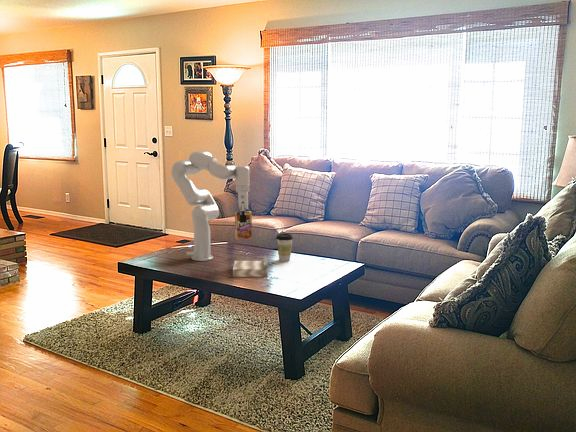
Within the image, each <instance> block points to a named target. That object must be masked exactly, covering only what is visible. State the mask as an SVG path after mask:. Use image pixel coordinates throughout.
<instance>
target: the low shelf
mask: <svg viewBox="0 0 576 432" xmlns="http://www.w3.org/2000/svg"><path fill="white" fill-rule="evenodd" d="M232 267H233V268H232V277H234V278H235V277H237V278H238V277H239V278H241V277H242V278H243V277H244V278H245V277H252V278H253V277H255V278H256V277H264V278H265V277H268V256H267V255H266V256H265V255H264V256H263V260H234V263H233V266H232Z"/></svg>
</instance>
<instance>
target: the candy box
mask: <svg viewBox="0 0 576 432" xmlns="http://www.w3.org/2000/svg"><path fill="white" fill-rule="evenodd" d="M240 215H241V210H240V211H239V210H238V211H234V238H235V240H251V239H252V237H253V236H252V235H253V233H252V232H253V231H252V229H253V228H252V227H253V224H252V220H253V219H252V217H253V215H252V211H251V210H249V211H248V210H246V222H240Z"/></svg>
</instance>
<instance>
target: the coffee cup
mask: <svg viewBox="0 0 576 432" xmlns="http://www.w3.org/2000/svg"><path fill="white" fill-rule="evenodd" d="M275 239H276V245H277V254H278V260H279V262H284V263H285V262H287V263H288V262H290V261H291V254H292V248H293V239H294V237H293V235H292V234H291V233H290V234H289V233H279V234H277V236H276V238H275Z"/></svg>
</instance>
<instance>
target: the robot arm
mask: <svg viewBox="0 0 576 432" xmlns="http://www.w3.org/2000/svg"><path fill="white" fill-rule="evenodd" d="M203 170H205V171H206V172H207V171H208V172H209V174H210V175H211V176H213V177H215V178H218V179H221V180H230V179H231V180H232V179H235V191H236V192H237V198H238V200H237V201H238V208H239V210H240V211H241V215H240V222H246V211H248V210H249V192H250V189H251V188H250V185H251V183H250V180H251V179H250V178H251V177H250V174H251V173H250V167H249V166H248V165H237V164H227V165H223V164H219V163H218V159H217V158H216V157H215V156H213V155H212V153H211V152H210V151H207V150H196V151H193V152H191V153H190V155H189V157H188V159H184V160H183V159H182V160H179V161H176V162H174V163H173V165H172V166H171V177H172V179H173V181H174V182H175V184H176V185H177V187H178V188H179V190H180V192H181V195H183V198H184V199H185V201H186V203H187V204H188V205H189V206H191V207H193V206H194V207H193V209H192V211H191V218H192V224H193V250H192V251H186V255H187V256H191V260H193V261H198V262H204V261H210V260H213V259H214V256H213V254H212V253H211V227H210V224H209V222H208V221H211V220H215V219H218V217H219V215H220V209H219V206H218V205H217V203H216V201H215V199H214V197H213V196H212V194H211V192H210V191H209V190H208V189H206V188H198V187H196V186H195V183H194V182H193V180H192V179H191V178H190V177H188V175H195V174H197V173H200V172H201V171H203Z"/></svg>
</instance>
